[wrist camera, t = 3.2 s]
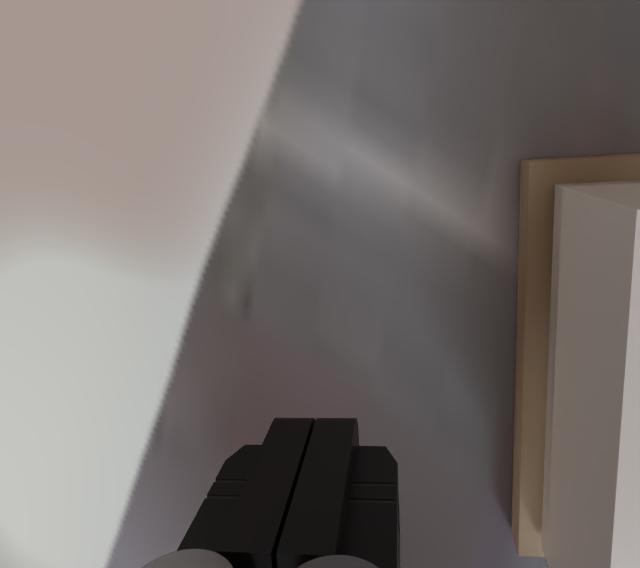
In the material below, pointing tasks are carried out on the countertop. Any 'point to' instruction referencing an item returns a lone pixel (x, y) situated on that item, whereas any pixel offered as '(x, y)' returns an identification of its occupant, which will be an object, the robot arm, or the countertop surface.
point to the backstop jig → (542, 323)
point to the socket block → (593, 379)
